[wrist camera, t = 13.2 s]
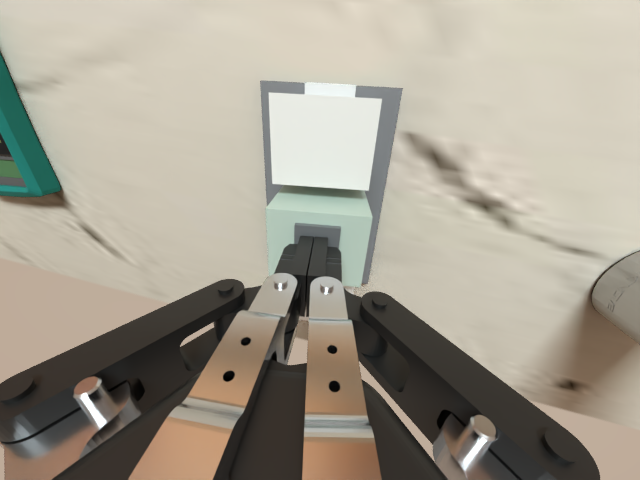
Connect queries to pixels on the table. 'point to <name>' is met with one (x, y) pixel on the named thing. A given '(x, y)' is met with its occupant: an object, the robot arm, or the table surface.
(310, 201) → the block
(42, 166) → the digital multimeter
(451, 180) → the table surface
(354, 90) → the rail panel
